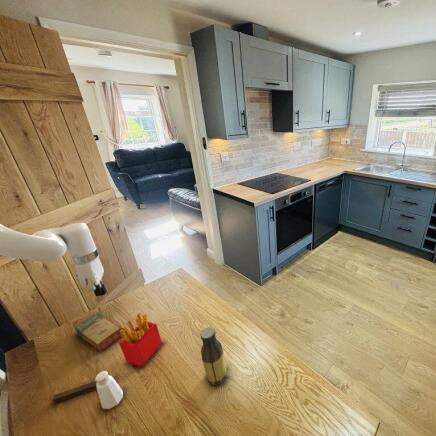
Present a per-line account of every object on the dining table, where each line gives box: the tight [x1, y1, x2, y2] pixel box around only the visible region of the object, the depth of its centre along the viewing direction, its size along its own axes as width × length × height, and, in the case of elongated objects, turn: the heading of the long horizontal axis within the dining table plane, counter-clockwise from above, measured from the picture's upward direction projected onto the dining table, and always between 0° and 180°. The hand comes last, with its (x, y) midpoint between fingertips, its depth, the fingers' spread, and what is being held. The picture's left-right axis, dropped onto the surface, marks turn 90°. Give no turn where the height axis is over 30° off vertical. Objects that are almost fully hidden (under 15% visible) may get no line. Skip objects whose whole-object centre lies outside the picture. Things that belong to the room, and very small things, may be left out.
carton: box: [74, 312, 123, 352], centre depth 89 cm, size 8×16×4 cm, turn 63°
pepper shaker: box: [94, 370, 124, 410], centre depth 67 cm, size 5×5×11 cm
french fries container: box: [118, 312, 163, 368], centre depth 80 cm, size 7×9×14 cm
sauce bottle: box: [199, 326, 228, 386], centre depth 72 cm, size 6×6×20 cm
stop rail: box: [52, 375, 114, 404], centre depth 71 cm, size 14×2×2 cm, turn 114°
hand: (101, 294), depth 95 cm, fingers closed
